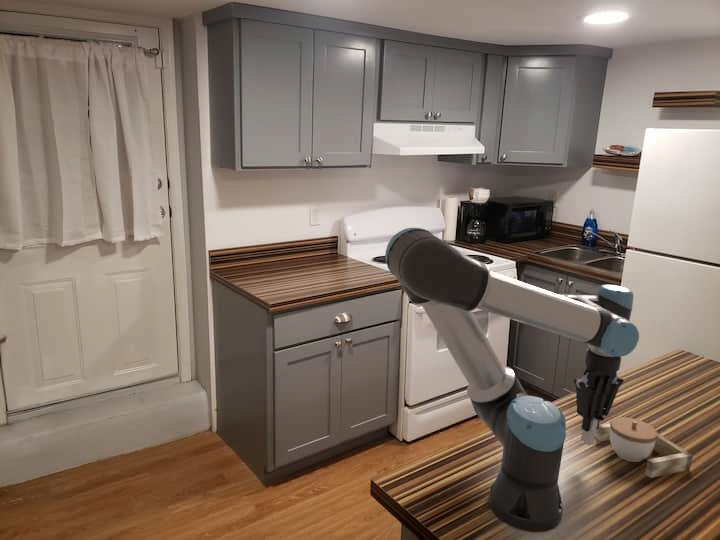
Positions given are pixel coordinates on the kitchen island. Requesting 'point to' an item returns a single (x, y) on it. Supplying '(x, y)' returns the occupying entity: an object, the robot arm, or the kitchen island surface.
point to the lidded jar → (632, 438)
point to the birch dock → (672, 453)
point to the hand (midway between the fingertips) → (587, 441)
